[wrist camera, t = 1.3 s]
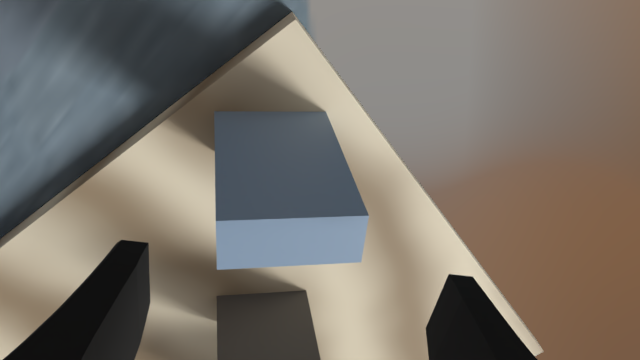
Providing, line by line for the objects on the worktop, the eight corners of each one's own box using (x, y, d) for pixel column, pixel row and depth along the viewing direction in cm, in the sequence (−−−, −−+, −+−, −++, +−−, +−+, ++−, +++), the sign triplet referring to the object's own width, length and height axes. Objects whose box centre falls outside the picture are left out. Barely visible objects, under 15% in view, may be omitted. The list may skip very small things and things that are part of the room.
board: (263, 491, 38) (264, 505, 37) (-91, 309, 24) (-101, 326, 23) (535, 338, 34) (543, 351, 33) (292, 11, 20) (295, 19, 19)
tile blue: (322, 150, 22) (361, 262, 16) (215, 152, 21) (216, 269, 16) (325, 111, 21) (368, 215, 16) (214, 111, 20) (215, 221, 15)
